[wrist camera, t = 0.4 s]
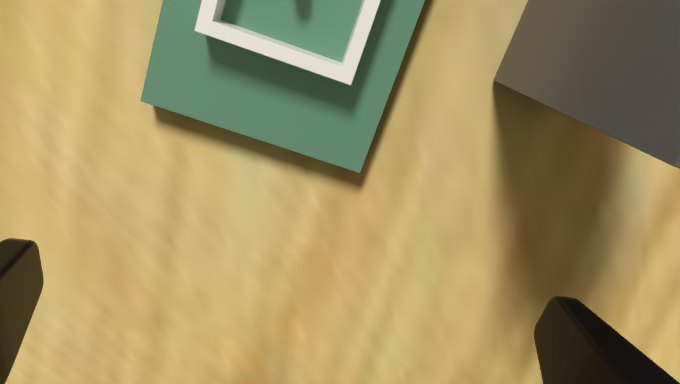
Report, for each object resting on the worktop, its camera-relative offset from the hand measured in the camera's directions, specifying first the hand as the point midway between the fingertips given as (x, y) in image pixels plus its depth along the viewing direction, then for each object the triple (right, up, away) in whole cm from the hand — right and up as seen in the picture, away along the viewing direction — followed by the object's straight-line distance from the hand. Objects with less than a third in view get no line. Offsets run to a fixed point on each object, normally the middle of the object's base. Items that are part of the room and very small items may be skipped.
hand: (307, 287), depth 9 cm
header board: (-1, +10, +11) cm, 15 cm away
